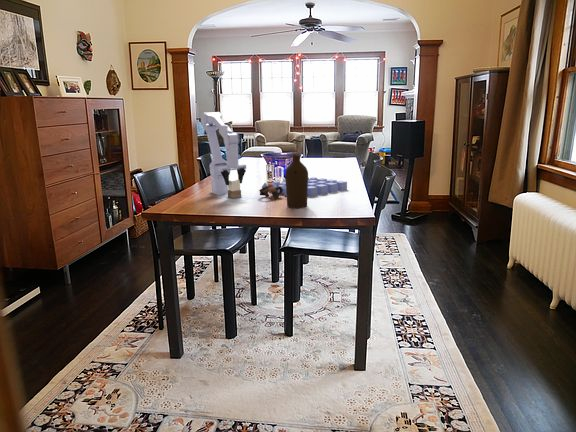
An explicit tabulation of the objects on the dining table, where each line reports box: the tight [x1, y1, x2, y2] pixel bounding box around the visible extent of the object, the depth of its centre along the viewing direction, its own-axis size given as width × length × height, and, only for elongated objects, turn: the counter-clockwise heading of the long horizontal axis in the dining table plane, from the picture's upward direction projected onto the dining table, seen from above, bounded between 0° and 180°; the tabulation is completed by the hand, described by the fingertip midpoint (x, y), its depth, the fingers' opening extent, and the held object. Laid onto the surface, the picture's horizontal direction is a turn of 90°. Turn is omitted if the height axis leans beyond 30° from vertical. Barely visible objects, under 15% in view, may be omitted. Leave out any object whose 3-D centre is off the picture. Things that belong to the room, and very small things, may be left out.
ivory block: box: [228, 179, 241, 191], centre depth 229 cm, size 4×4×5 cm
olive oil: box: [284, 152, 309, 209], centre depth 207 cm, size 11×11×25 cm
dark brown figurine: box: [259, 184, 283, 201], centre depth 228 cm, size 12×10×8 cm
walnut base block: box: [227, 189, 242, 199], centre depth 231 cm, size 5×5×4 cm
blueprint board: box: [216, 194, 254, 203], centre depth 231 cm, size 18×12×1 cm, turn 37°
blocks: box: [261, 176, 348, 198], centre depth 249 cm, size 35×34×5 cm
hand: (233, 184), depth 229 cm, fingers open, 7 cm apart
